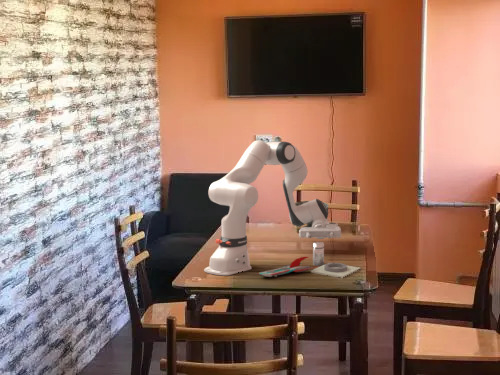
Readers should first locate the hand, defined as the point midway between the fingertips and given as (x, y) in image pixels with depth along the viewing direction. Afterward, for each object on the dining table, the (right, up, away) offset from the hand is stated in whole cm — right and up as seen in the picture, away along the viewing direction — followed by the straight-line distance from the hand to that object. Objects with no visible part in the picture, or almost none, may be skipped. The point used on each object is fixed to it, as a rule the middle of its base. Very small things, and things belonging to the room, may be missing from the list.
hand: (319, 236), depth 343 cm
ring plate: (+5, -14, -22) cm, 26 cm away
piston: (-2, -12, -11) cm, 16 cm away
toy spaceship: (-17, -15, -25) cm, 34 cm away
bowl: (+1, -1, +57) cm, 57 cm away
